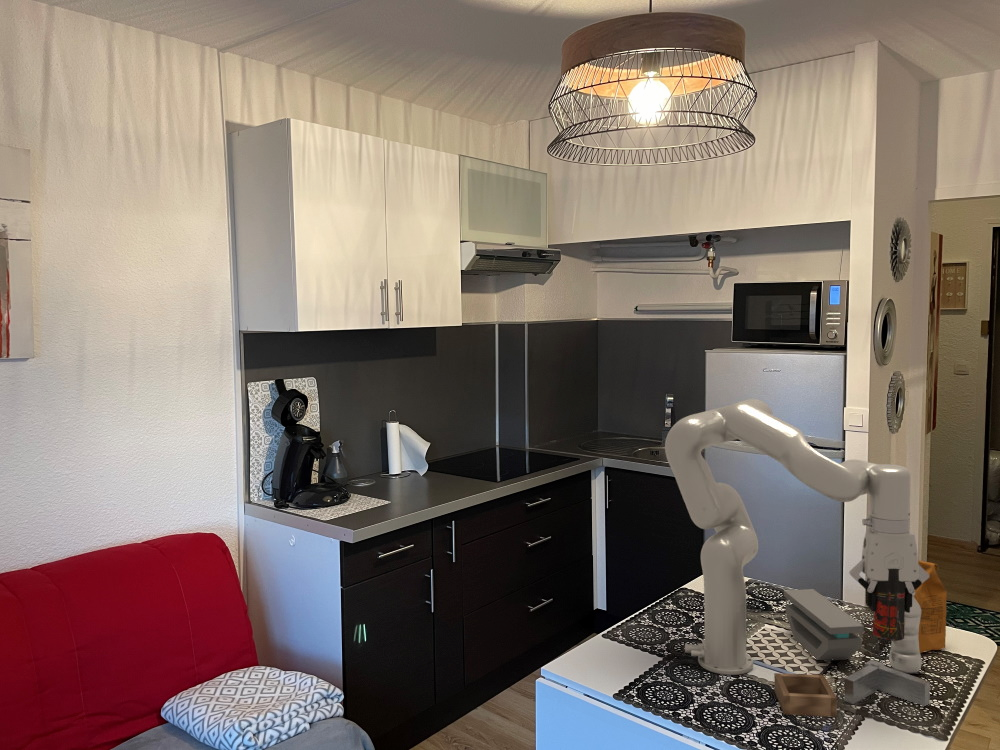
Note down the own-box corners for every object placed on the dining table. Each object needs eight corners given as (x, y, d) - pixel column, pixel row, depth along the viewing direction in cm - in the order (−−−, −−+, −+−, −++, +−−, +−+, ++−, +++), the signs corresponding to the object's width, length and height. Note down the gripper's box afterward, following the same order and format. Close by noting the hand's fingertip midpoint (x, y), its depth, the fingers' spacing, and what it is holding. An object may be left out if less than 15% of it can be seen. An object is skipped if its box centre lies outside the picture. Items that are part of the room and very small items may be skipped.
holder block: (783, 714, 164) (783, 695, 164) (774, 690, 174) (774, 673, 174) (836, 716, 162) (836, 697, 162) (824, 692, 173) (824, 675, 172)
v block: (846, 704, 168) (846, 681, 167) (831, 679, 179) (832, 658, 178) (932, 708, 165) (932, 684, 165) (912, 682, 176) (912, 661, 176)
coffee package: (919, 632, 203) (920, 548, 202) (952, 652, 191) (953, 563, 189) (883, 635, 202) (883, 550, 201) (913, 655, 190) (914, 565, 188)
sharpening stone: (863, 672, 182) (863, 626, 181) (830, 674, 182) (830, 627, 181) (812, 629, 207) (813, 589, 206) (783, 631, 207) (783, 590, 206)
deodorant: (867, 630, 168) (867, 561, 167) (893, 628, 169) (894, 559, 168) (882, 641, 162) (883, 569, 161) (910, 639, 163) (911, 568, 162)
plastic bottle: (925, 678, 178) (926, 591, 177) (893, 676, 180) (893, 590, 178) (916, 665, 185) (917, 581, 183) (885, 664, 186) (886, 580, 185)
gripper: (850, 529, 162) (850, 615, 163) (941, 530, 159) (940, 617, 160) (840, 519, 169) (840, 602, 170) (927, 520, 166) (926, 604, 168)
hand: (888, 608), depth 165 cm, fingers closed on deodorant, 5 cm apart
